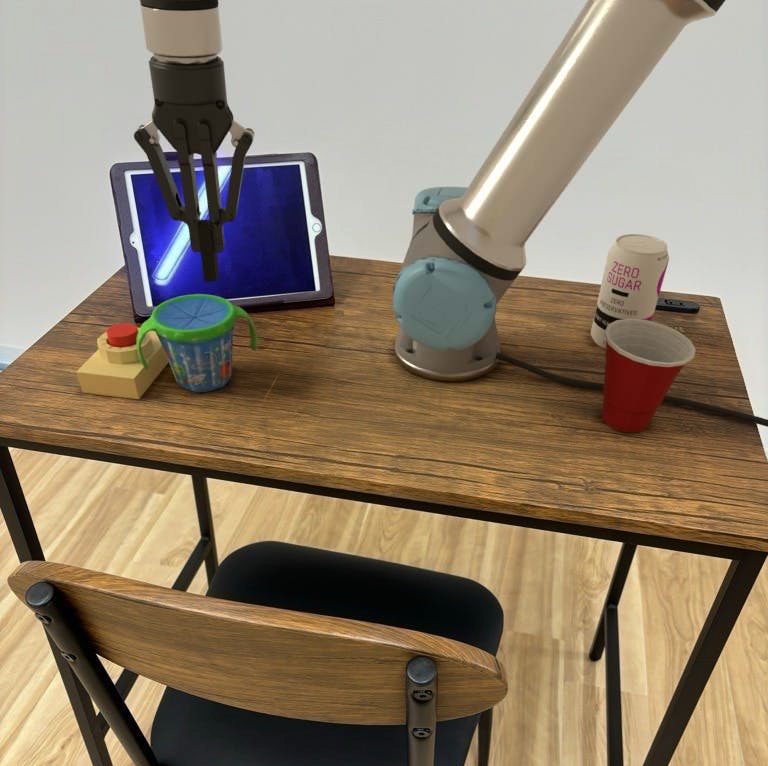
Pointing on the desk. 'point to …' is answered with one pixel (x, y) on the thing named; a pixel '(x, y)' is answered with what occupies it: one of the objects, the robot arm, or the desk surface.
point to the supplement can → (630, 282)
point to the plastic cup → (640, 370)
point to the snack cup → (197, 339)
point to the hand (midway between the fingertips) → (211, 276)
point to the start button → (122, 335)
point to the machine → (122, 368)
